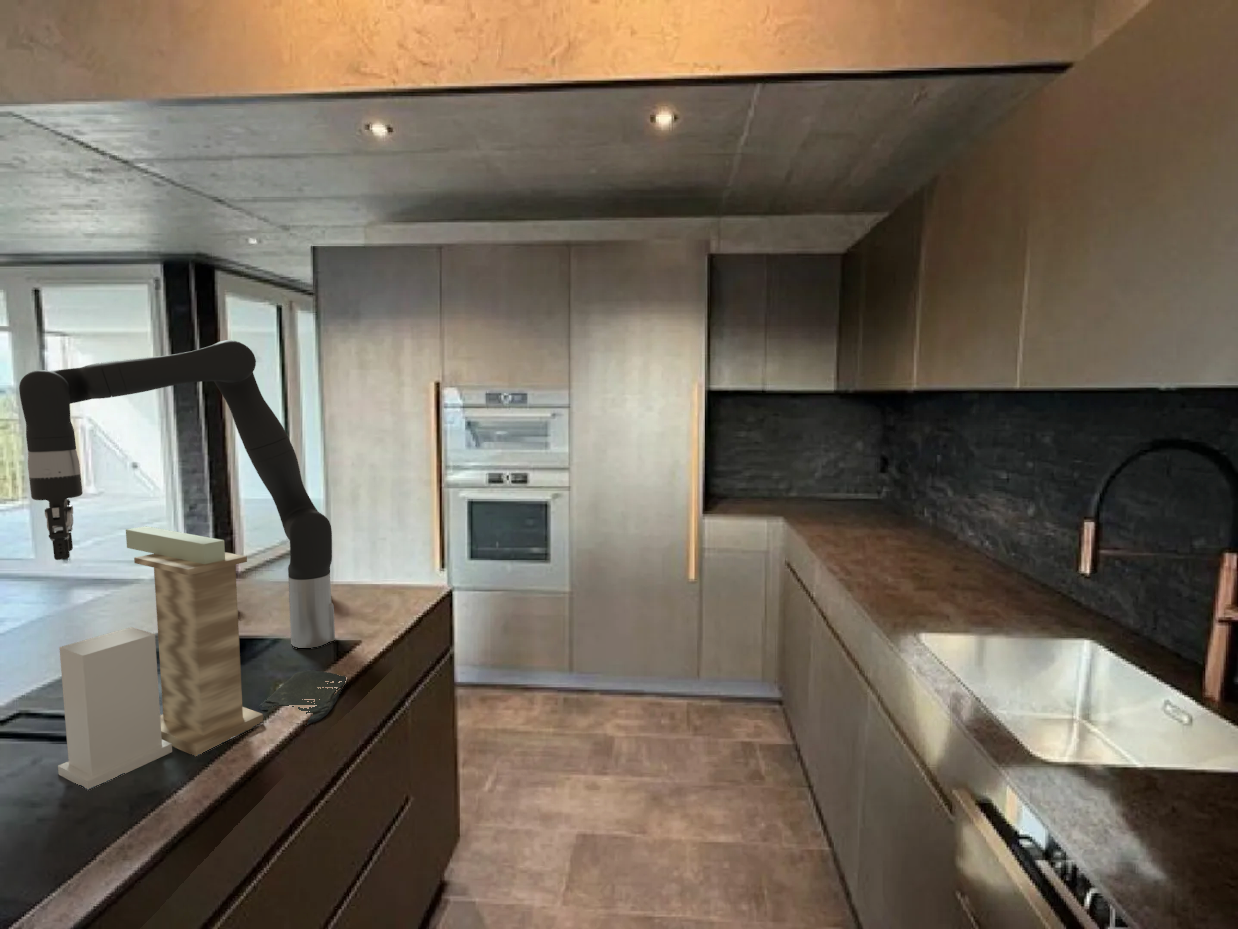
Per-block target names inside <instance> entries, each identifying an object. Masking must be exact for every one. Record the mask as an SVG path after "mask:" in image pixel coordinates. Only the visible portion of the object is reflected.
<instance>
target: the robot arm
mask: <svg viewBox="0 0 1238 929" xmlns="http://www.w3.org/2000/svg"><path fill="white" fill-rule="evenodd" d="M256 366H257V359H256V356H255V354H254V352H253V350H252V349H251V348H249V346H247V345H246V344H244V343H241V342H240V341H237V340H232V339H231V340H230V339H228V340H220V341H218V342H216V343H214V344H212V345H208V346H206V347H202V348H199V349H195V350H192V351H186V352H179V353H175V354H168V355H159V356H158V355H157V356H149V357H148V356H147V357H136V358H128V359H119V360H111V361H102V362H98V363H92V364H88V365H87V364H86V365H85V366H82V367H74V368H64V369H56V370H55V369H54V370H44V369H39V370H33V371H30V372H28V373H27V374H25V375H24V376H23V377H22V378H21V380H20V381H19V384H18V385H19V386H18V390H19V398H20V403H21V408H22V413H23V417H24V420H25V430H26V431H25V432H26V433H25V436H26V437H25V438H26V445H27V471H28V478H29V479H28V480H29V489H30V496H31V499H32V500H34V501H48V507H46V508H45V509H44V516H45V519H46V529H47V531H48V533H49V534H48V538H49V540H50V541H51V542H52V550H53V558H54V560H56V561H62V560H67V559H69V558H70V557H71V555H70V552H71V551H72V550H74V549H73V548H74V547H73V538H72V532H73V530H74V529H73V525H74V516H73V515H74V506H73V505H71V500H70V499H73V498H74V499H75V498H78V497H81V496H83V492H84V491H83V485H82V476H81V475H82V474H81V466H80V465H81V464H80V459H79V455H78V452H77V444H76V436H75V430H74V425H73V424H72V422H71V421H72V420H71V419H72V418H71V405H70V404H75V403H80V402H85V401H89V400H90V401H91V400H95V399H96V400H97V399H99V400H100V399H109V398H116V397H122V396H128V395H133V394H135V395H136V394H139V393H144V392H145V393H146V392H151V391H154V390H159V389H163V388H168V387H171V386H177V385H183V384H190V383H191V384H193V383H199V382H200V383H201V382H214V383H215V386H216V387H217V389H218V390H219V392H220V394H221V395H222V397H223V399H224V400H225V402H226V404H227V406H228V409H229V410H230V414H231V415H232V419H233V422H234V424H235V427H236V430H237V433H238V435H239V437H240V440H241V442H242V444H243V446H244V449H245V451H246V453H247V455H248V457H249V460H250V461H251V464H252V466H253V467H254V470H255V472H256V473H257V475H258V477H259V478H260V480H261V481H262V484H263V485H264V486H265V489H267V491H268V493H269V494H270V496H271V498H272V500H273V502H274V505H275V506H276V510H277V512H278V516H279V518H280V519H279V520H280V521H281V526H282V528H283V531H284V533H285V536H286V537H287V539H288V540H289V551H290V552H289V554H290V556H289V559H290V561H289V565H288V567H287V574H288V576H287V577H288V597H289V601H288V602H289V622H290V623H289V625H290V645H291V644H292V645H293V646H295V647H298V648H311V647H317V646H320V645H323V644H326V643H328V642H329V641H331V640H335V641H336V638H335V637H336V636H335V634H336V633H335V631H336V630H335V606H334V603H333V602H332V588H331V587H332V586H331V584H332V582H331V564H332V561H333V531H332V525H331V522H330V520H329V518H327V516H325V515H324V514H323V513H322V512H320V511H318V509H317V508H316V506H315V504H314V502H312V499H311V498H310V496H309V494H308V492H307V490H306V488H305V485H304V484H303V483H304V482H303V480H302V474H301V469H300V466H299V461H298V458H297V454H296V451H295V450H294V447H293V445H292V442H291V440H290V438H289V435H288V434H287V432H286V430H285V428H284V426H283V425H282V423H281V421H280V420H279V418H278V417H277V415H276V414H275V413H274V411H273V410H272V409H271V407H270V406H269V404H268V403H267V402H266V400H265V399H264V397H263V395H262V393H261V390H260V388H259V385H258V382H257V380H256V377H255V374H254V371H255V368H256ZM328 644H329V643H328ZM326 645H327V644H326ZM317 648H318V647H317ZM311 649H312V648H311Z"/></svg>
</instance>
